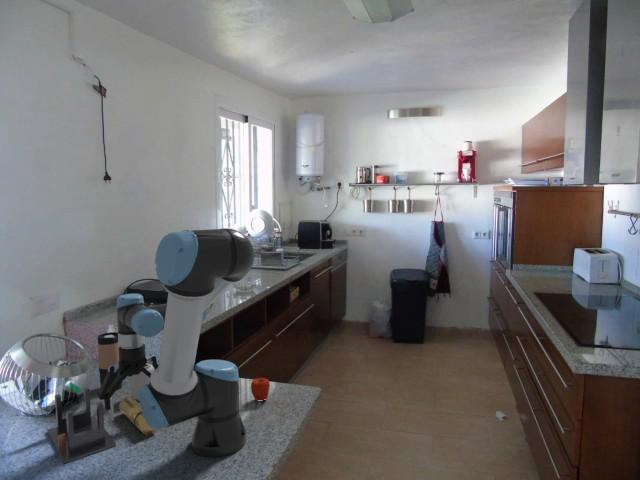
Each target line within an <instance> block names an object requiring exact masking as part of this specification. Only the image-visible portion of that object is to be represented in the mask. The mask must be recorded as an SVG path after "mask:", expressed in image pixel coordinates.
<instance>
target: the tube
mask: <svg viewBox="0 0 640 480" xmlns="http://www.w3.org/2000/svg"><path fill="white" fill-rule="evenodd" d="M119 410H120V412H121V413H122V415H124V416H125V417H126V418H127V419H128V420H129V421H130V423H132V424H133V425H134V426H135V428H136V429H137V430H138V431H140V432H141V433H142V435H144V436H145V437H151V436H152V435H154V434H155V433H157V431H158V430H153V429H151V428H150V427H149V425H148V424H147V422H146V420H145V418H144V416H143V413H142V410H141V406H140V402H139V401H137V400H135V399H134V398H133V397H132V396H131V397H130V396H129V397H128V396H126V397H125V398H123V399H122V400H121V401H120V402H119Z"/></svg>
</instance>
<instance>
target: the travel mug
mask: <svg viewBox="0 0 640 480" xmlns="http://www.w3.org/2000/svg"><path fill="white" fill-rule="evenodd" d="M119 347H120V346H119V345H118V331H117V332H114V331H113V332H106V333H105V332H104V333H101V334H98V335H97V352H98V355H97V356H98V372H99V381H100V382H99V383H100V386H101V385H102V383H103V381H104V378H105V376H106V374H107V370H108V365H109V364H111V365H117V364H118V363H119ZM119 372H120V369H117V370H116V372H115V373H114V376H113V378H112V380H111V383H110V385H109V387H110V386H111V384H112V383H113V381H114V380H115V379H116V377H117V375H118V373H119ZM109 387H108V388H109ZM122 387H123V382H122V383H121V384H120V385H119V387H118V388H117V390H116V391H118V390H121V389H122ZM107 390H108V389H107Z"/></svg>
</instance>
